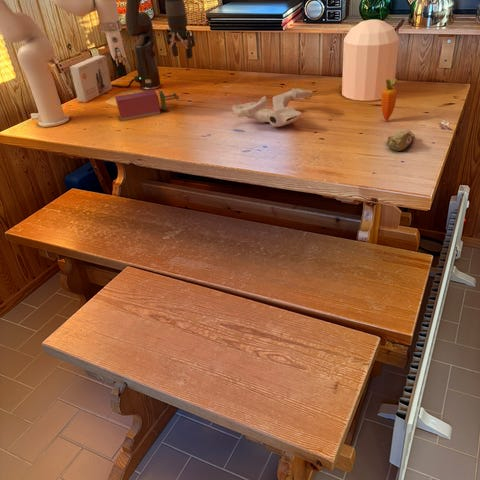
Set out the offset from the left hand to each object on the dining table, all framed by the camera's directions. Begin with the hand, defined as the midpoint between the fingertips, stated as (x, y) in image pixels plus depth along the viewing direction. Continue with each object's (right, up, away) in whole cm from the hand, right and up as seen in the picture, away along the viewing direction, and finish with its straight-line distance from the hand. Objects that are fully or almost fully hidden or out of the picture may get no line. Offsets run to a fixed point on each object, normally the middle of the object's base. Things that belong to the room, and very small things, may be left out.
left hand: (121, 73), depth 183 cm
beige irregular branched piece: (+62, -23, -11) cm, 67 cm away
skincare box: (-22, +4, +40) cm, 46 cm away
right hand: (+24, +8, +5) cm, 26 cm away
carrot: (+100, -23, -17) cm, 104 cm away
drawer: (+11, -11, +12) cm, 20 cm away
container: (+100, -5, +10) cm, 101 cm away
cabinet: (+5, -14, +11) cm, 18 cm away
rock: (+99, -36, -35) cm, 111 cm away
